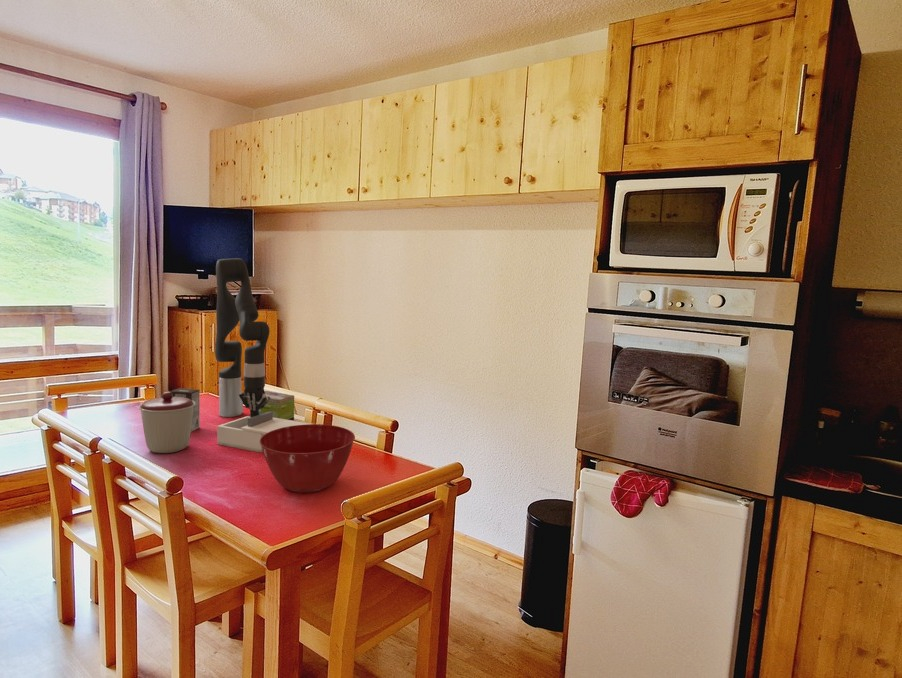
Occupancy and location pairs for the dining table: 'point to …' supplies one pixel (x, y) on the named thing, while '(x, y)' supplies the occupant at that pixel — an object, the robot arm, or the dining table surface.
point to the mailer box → (239, 436)
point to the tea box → (279, 405)
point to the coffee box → (194, 396)
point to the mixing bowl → (307, 455)
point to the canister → (167, 422)
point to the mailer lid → (268, 423)
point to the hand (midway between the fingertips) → (254, 419)
